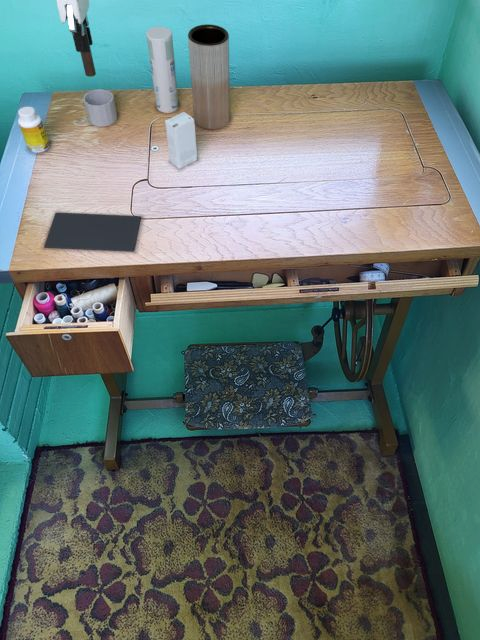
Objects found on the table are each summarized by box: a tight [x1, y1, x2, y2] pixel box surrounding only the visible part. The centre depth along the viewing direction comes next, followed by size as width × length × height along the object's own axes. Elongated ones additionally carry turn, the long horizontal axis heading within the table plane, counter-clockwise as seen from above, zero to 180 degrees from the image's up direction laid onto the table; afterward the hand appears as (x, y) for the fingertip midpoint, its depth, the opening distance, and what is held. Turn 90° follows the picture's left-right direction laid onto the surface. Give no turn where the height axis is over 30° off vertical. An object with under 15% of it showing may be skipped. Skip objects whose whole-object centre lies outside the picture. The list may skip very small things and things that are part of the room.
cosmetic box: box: [164, 111, 198, 170], centre depth 131 cm, size 6×4×12 cm
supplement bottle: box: [17, 106, 50, 154], centre depth 133 cm, size 6×6×10 cm
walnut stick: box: [76, 22, 97, 78], centre depth 128 cm, size 3×3×12 cm
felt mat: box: [43, 212, 142, 253], centre depth 121 cm, size 20×11×1 cm, turn 89°
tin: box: [82, 88, 118, 128], centre depth 142 cm, size 8×8×6 cm
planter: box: [187, 23, 231, 130], centre depth 137 cm, size 10×10×23 cm
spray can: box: [145, 26, 179, 114], centre depth 141 cm, size 6×6×20 cm
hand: (84, 47), depth 128 cm, fingers closed on walnut stick, 2 cm apart
